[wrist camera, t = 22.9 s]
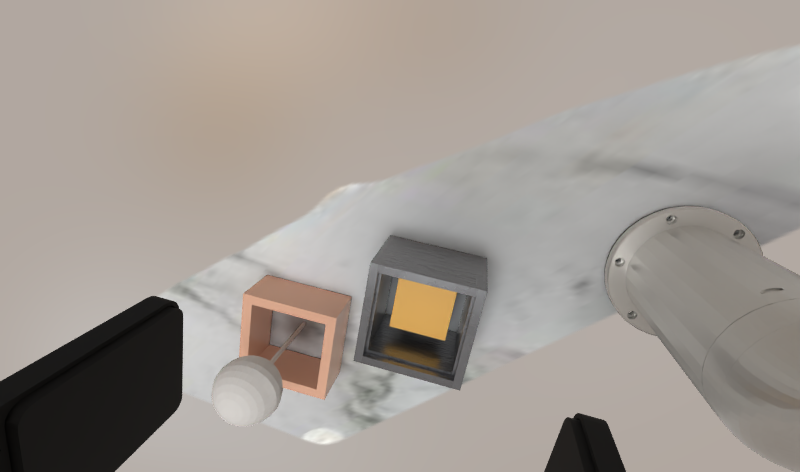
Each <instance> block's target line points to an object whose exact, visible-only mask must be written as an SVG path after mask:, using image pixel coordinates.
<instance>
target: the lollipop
mask: <svg viewBox="0 0 800 472" xmlns="http://www.w3.org/2000/svg"><path fill="white" fill-rule="evenodd" d="M305 325H306V323H305V322H303V323H302V324H301V325H300V326H299V327H298V328H297V330H296V331H295V332H294V333H293V334H292V335H291V337H290V338H289V339H288V340H287V341H286V342H285V344H284V345H283V346H282V347H281V348H280V349H279V351H278V352H277V353H276V354H275V355H274V356H273V358H272V359H271V360H270V361H269V360H267V359H266V358H263V357H260V356H255V355H249V356H243V357H239V358H237V359H235V360H233V361H231V362H230V363H228V364H227V365H226V366H224V367H223V368H222V369H221V371H220V372H219V373H218V374H217V376H216V378H215V380H214V383H213V388H212V403H213V406H214V409H215V411H216V412H217V414H218V415H219V416H220V417H221V418H222V419H223V420H224V421H226V422H227V423H229V424H232V425H234V426H241V427H243V426H252V425H255V424H257V423H260V422H262V421H263V420H265V419H266V418H268V417H269V416H270V415H271V414H272V413H273V412H274V411H275V410H276V409H277V407H278V405H279V403H280V400H281V396H282V391H283V384H282V378H281V375H280V373H279V371H278V369H277V368H276V366H275V365H274V362H275V361H276V360H277V359H278V358H279V356H280V355H281V354H282V353H283V352H284V350H285V349H286V348H287V347H288V346H289V344H290V343H291V342H292V341H293V340H294V338H295V337H296V336H297V335H298V334H299V332H300V331H301V330H302V329H303V328H304V326H305Z"/></svg>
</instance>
